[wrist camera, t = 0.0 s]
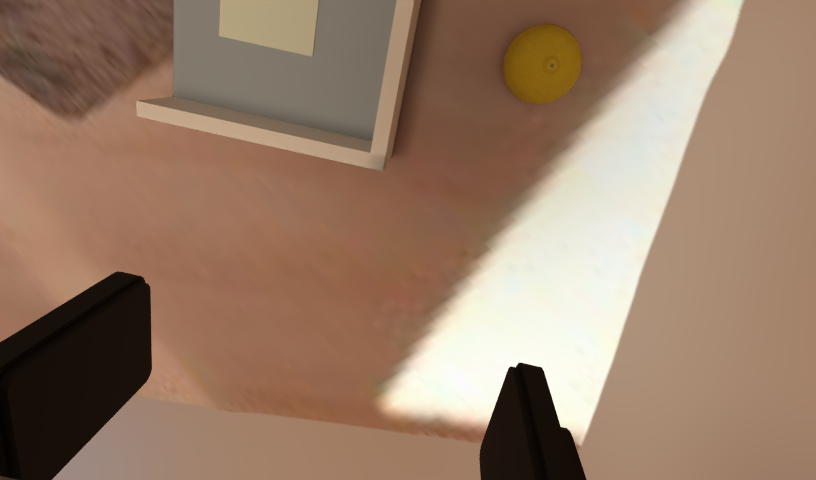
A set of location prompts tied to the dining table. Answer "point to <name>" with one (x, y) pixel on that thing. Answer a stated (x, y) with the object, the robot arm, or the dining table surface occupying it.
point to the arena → (293, 74)
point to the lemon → (542, 64)
